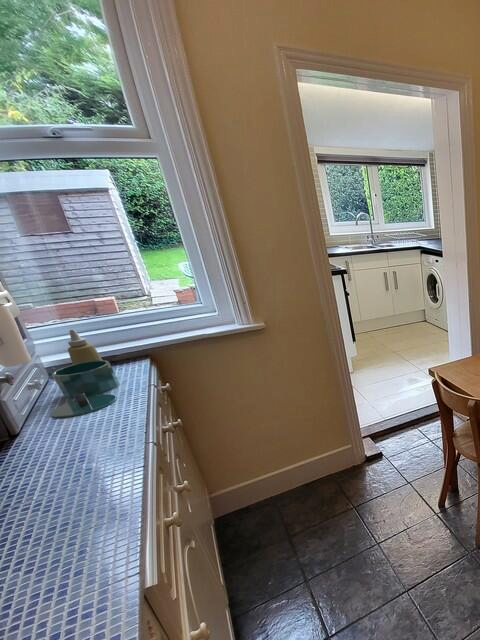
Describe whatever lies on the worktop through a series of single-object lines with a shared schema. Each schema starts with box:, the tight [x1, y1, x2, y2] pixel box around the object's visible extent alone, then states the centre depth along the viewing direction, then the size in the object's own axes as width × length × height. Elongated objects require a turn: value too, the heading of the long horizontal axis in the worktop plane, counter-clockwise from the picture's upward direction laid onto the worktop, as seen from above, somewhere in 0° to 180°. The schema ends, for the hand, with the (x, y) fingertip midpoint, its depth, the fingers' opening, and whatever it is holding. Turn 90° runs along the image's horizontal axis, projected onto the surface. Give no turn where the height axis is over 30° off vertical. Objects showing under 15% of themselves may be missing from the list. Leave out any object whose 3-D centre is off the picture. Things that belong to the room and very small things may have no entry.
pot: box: [51, 359, 120, 400], centre depth 135 cm, size 13×13×8 cm
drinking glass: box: [0, 304, 32, 368], centre depth 103 cm, size 7×7×15 cm
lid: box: [50, 393, 117, 419], centre depth 124 cm, size 14×14×5 cm
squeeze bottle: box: [67, 329, 103, 365], centre depth 144 cm, size 8×8×18 cm
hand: (5, 341), depth 104 cm, fingers closed on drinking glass, 6 cm apart
